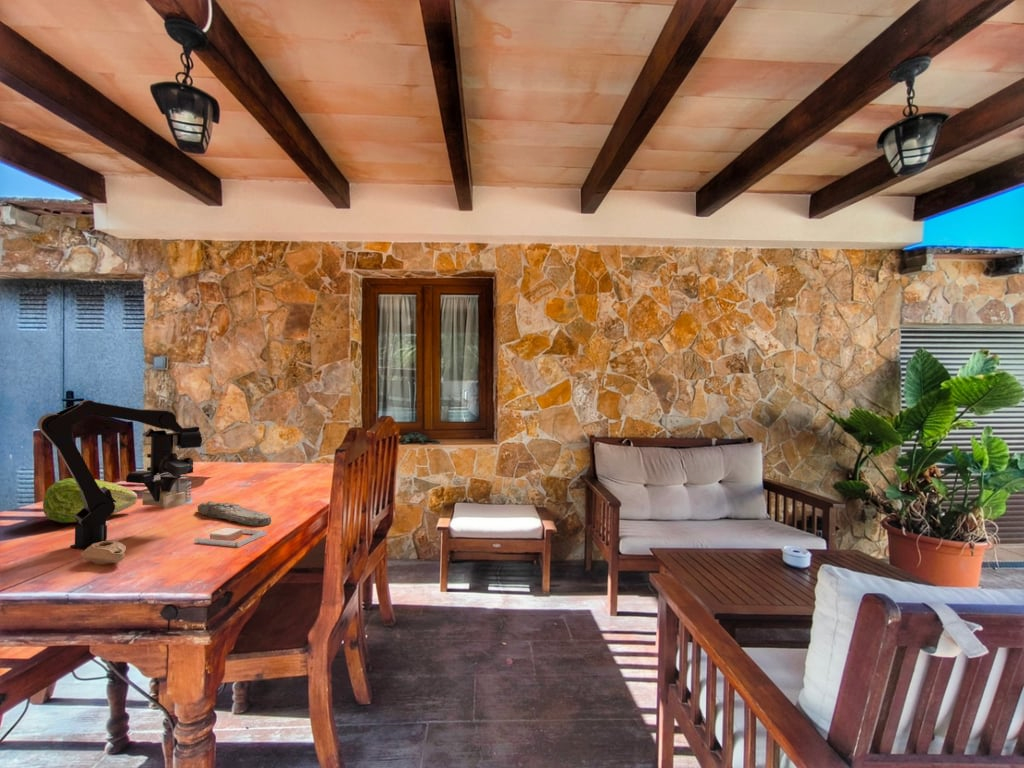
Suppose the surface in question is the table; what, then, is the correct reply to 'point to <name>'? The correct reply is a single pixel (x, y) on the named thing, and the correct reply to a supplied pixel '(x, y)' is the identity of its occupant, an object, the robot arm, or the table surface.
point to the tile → (226, 534)
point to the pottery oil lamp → (104, 552)
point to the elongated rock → (234, 513)
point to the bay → (255, 535)
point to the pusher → (164, 499)
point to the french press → (183, 487)
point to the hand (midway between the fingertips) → (161, 500)
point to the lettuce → (80, 499)
